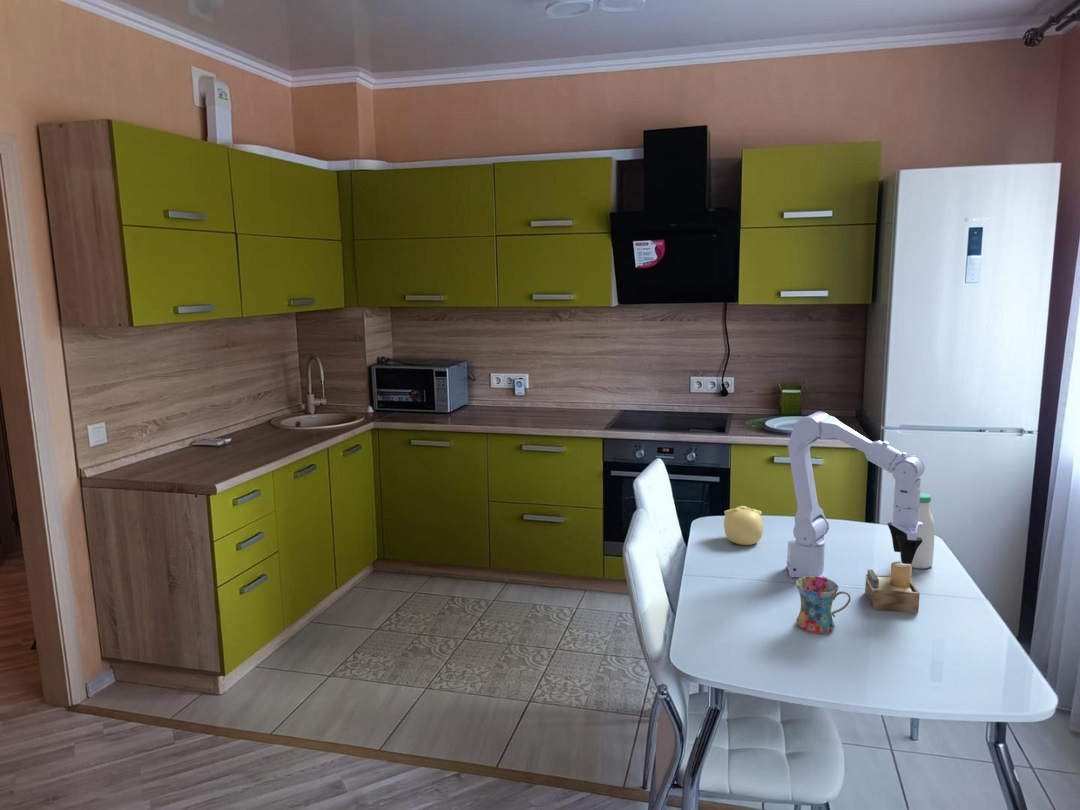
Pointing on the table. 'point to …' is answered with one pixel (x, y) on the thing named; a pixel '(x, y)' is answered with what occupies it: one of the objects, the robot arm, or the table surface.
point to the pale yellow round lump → (743, 525)
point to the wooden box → (893, 598)
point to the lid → (882, 583)
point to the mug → (817, 603)
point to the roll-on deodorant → (900, 575)
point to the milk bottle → (925, 535)
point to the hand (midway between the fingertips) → (902, 557)
